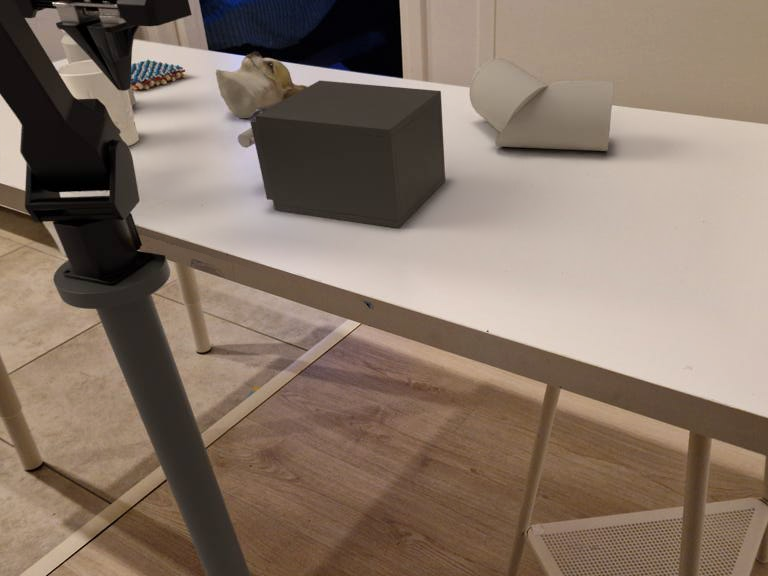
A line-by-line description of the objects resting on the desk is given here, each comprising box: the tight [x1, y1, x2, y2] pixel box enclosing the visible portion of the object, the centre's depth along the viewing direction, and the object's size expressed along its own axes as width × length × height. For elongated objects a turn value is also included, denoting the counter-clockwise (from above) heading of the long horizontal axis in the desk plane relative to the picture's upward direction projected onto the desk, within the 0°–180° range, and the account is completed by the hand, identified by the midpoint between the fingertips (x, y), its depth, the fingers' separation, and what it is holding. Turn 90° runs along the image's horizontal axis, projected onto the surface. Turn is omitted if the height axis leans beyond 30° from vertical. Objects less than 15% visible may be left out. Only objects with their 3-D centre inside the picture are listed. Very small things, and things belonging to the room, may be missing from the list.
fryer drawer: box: [237, 118, 273, 201], centre depth 82 cm, size 19×12×9 cm, turn 71°
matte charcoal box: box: [254, 80, 446, 229], centre depth 81 cm, size 16×14×11 cm
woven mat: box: [131, 59, 187, 91], centre depth 123 cm, size 10×11×2 cm
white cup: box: [56, 60, 140, 147], centre depth 97 cm, size 8×8×10 cm
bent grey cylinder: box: [469, 58, 615, 152], centre depth 96 cm, size 18×10×20 cm
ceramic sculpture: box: [215, 50, 308, 119], centre depth 108 cm, size 11×9×15 cm
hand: (124, 89), depth 78 cm, fingers closed
